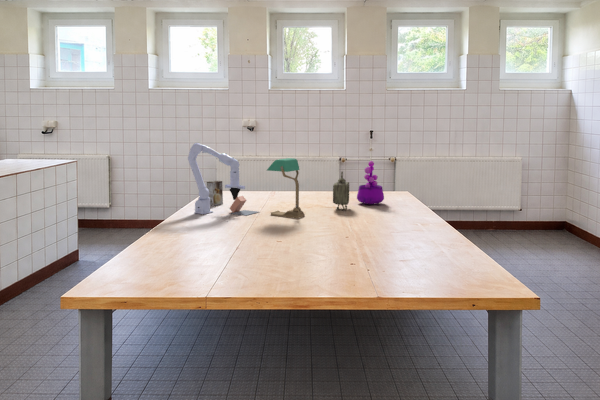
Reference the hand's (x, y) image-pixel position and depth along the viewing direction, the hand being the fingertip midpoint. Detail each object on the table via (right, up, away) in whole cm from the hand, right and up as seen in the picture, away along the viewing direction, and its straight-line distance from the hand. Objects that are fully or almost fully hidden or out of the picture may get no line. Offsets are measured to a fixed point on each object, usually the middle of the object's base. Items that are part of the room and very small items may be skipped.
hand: (235, 199), depth 361 cm
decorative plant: (+90, -3, +35) cm, 97 cm away
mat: (+7, -9, -3) cm, 11 cm away
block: (-1, -7, +1) cm, 7 cm away
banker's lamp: (+33, -10, -11) cm, 36 cm away
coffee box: (-17, -4, +29) cm, 34 cm away
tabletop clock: (+68, -6, +13) cm, 70 cm away
